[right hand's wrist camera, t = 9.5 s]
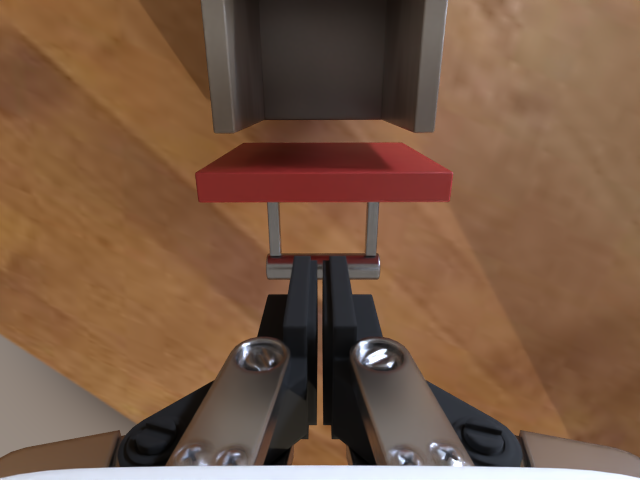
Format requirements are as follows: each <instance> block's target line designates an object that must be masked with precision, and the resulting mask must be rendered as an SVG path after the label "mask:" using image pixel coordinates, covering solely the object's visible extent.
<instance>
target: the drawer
mask: <svg viewBox="0 0 640 480" xmlns="http://www.w3.org/2000/svg"><path fill="white" fill-rule="evenodd" d="M447 4H448V0H201V8H202V18H203V28H204V38H205V48H206V58H207V68H208V78H209V88H210V98H211V108H212V118H213V128H214V133H235V132H237V131H240V130H242V129H244V128H247V127H249V126H251V125H253V124H256V123H258V122H260V121H263V120H384V121H387V122H389V123H392V124H394V125H397V126H399V127H402V128H404V129H407V130H409V131H412V132H414V133H433V132H434V129H435V120H436V110H437V100H438V91H439V81H440V72H441V62H442V52H443V43H444V33H445V23H446V14H447ZM195 177H196V185H197V193H198V201H199V202H267V208H268V226H269V244H270V253H269V254H268V255H267V260H266V274H267V279H269V280H290V278H291V272H292V265H293V259H294V256H311V260H317V280H323V260H329V256H346V259H347V265H348V272H349V278H350V280H377V279H379V276H380V258H379V254H378V253H376V249H377V231H378V214H379V202H449V201H450V195H451V187H452V179H453V172H451V171H450V170H448V169H446V168H444V167H443V166H441V165H439V164H438V163H436V162H434V161H432V160H431V159H429V158H427V157H426V156H424V155H422V154H421V153H419V152H417V151H415V150H414V149H412V148H410V147H409V146H407V145H405V144H403V143H243V144H241V145H240V146H238V147H236V148H235V149H233V150H231V151H230V152H228V153H227V154H225V155H223V156H222V157H220V158H219V159H217V160H215V161H214V162H212V163H211V164H209V165H207V166H206V167H204V168H202V169H201V170H199V171H198V172H196V173H195ZM279 202H367V211H366V233H365V253H281V228H280V205H279Z"/></svg>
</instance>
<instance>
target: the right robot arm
mask: <svg viewBox="0 0 640 480" xmlns="http://www.w3.org/2000/svg"><path fill="white" fill-rule="evenodd" d="M317 343H318V316H317V260H311V256H294V259H293V265H292V272H291V278H290V284H289V290H288V294H269V295H268V297H267V301H266V305H265V309H264V313H263V317H262V320H261V324H260V328H259V332H258V336H257V337H255V338H250V339H248V340H245V341H243V342H241V343H240V344H238V345H237V346H236V347H235V348H234V349H233V350H232V351H231V353H230V355H229V356H228V358H227V360H226V361H225V363H224V365H223V367H222V368H221V370H220V372H219V374H218V375H217V377H216V379H215V380H214V381H212V382H210V383H208V384H207V385H205V386H203V387H201V388H200V389H198V390H196V391H194V392H192V393H191V394H189V395H187V396H185V397H184V398H182V399H180V400H178V401H177V402H175V403H173V404H171V405H169V406H168V407H166V408H164V409H162V410H161V411H159V412H157V413H155V414H153V415H152V416H150V417H148V418H146V419H145V420H143V421H142V422H140V423H139V424H137V425H136V426H134V427H133V428H132V429H131V430H130V431H129V432H128V433H127V434H126V435H124V436H121V434H120V431H119V430H118V431H113V432H108V433H102V434H96V435H91V436H86V437H80V438H75V439H69V440H64V441H58V442H53V443H48V444H42V445H37V446H31V447H26V448H23V449H19V450H16V451H13V452H10V453H8V454H7V455H5V456H3V457H1V458H0V480H640V458H639V457H637V456H635V455H633V454H632V453H630V452H627V451H624V450H621V449H617V448H614V447H609V446H603V445H598V444H592V443H587V442H582V441H576V440H571V439H565V438H560V437H555V436H549V435H544V434H538V433H533V432H527V431H522V430H520V434H519V436H516V435H514V434H513V433H512V432H511V431H510V430H509V429H508V428H507V427H506V426H504V425H503V424H501V423H500V422H498V421H497V420H495V419H494V418H492V417H490V416H488V415H487V414H485V413H483V412H481V411H479V410H478V409H476V408H474V407H472V406H471V405H469V404H467V403H465V402H463V401H462V400H460V399H458V398H456V397H455V396H453V395H451V394H449V393H448V392H446V391H444V390H442V389H440V388H439V387H437V386H435V385H433V384H432V383H430V382H428V381H426V380H425V379H424V377H423V375H422V374H421V372H420V370H419V368H418V367H417V365H416V363H415V361H414V360H413V358H412V356H411V355H410V353H409V351H408V350H407V349H406V348H405V347H404V346H403V345H402V344H400V343H399V342H397V341H395V340H392V339H390V338H385V337H383V336H382V332H381V328H380V324H379V320H378V317H377V313H376V309H375V305H374V301H373V297H372V295H371V294H352V290H351V284H350V278H349V272H348V265H347V259H346V256H329V260H323V316H322V343H323V425H331V433H332V439H340V440H341V441H342V442H344V443H345V444H346V456H347V461H348V465H349V466H332V465H308V466H291V465H292V461H293V456H294V444H295V443H296V442H298V441H299V440H300V439H308V433H309V425H317Z"/></svg>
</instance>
